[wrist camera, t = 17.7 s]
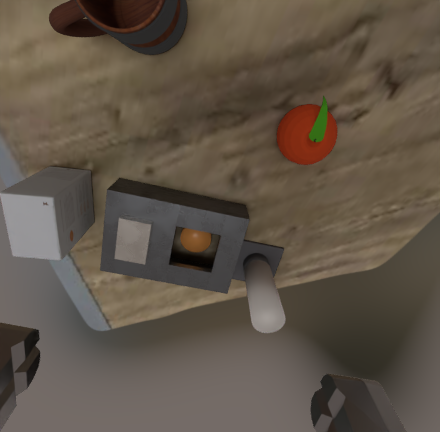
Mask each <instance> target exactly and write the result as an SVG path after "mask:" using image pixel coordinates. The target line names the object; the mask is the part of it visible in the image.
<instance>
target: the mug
mask: <svg viewBox="0 0 440 432" xmlns="http://www.w3.org/2000/svg"><path fill="white" fill-rule="evenodd" d="M85 17H86V18H87V19H83V18H85ZM186 20H187V4H186V0H70V1H68V2H66V3H63V4H61V5H59V6H57V7H56V8H54V9H53V10H52V11H51V13H50V14H49V22H50V24H51V26H52V27H53V29H54V30H55V31H57V32H58V33H60V34H63V35H67V36H73V37H95V36H100V35H104V34H107V33H108V34H109V35H111V36H112V37H114V38H116V39H118V40H119V41H120V42H121V43H123V44H124V45H125V46H127V47H129V48H130V49H132V50H134V51H137V52H139V53H143V54H149V55H154V54H160V53H163V52H165V51H167V50H169V49H170V48H172V47H173V46H174V45H175V44H176V43H177V42H178V40H179V39H180V37H181V35H182V34H183V31H184V29H185V25H186Z"/></svg>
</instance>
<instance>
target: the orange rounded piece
mask: <svg viewBox="0 0 440 432" xmlns="http://www.w3.org/2000/svg"><path fill="white" fill-rule="evenodd" d="M181 243H182V245H183V246H184V248H186V249H187V250H189V251H191V252H201V251H204V250H205V249H207V248H208V247H209V245H210V243H211V233H207V232H202V231H197V230H193V229H188V228H183V229H182V233H181Z"/></svg>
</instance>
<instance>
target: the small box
mask: <svg viewBox="0 0 440 432" xmlns="http://www.w3.org/2000/svg"><path fill="white" fill-rule="evenodd" d="M0 199H1V204H2V208H3V213H4V218H5V222H6V227H7V231H8V236H9V241H10V246H11V251H12V256H18V257H29V258H40V259H51V260H62V259H63V258H64V257H65V256H66V254H67V253H68V252H69V251H70V250H71V249H72V248H73V246H74V245H75V244H76V243H77V242H78V241H79V239H80V238H81V237H82V236H83V235H84V234H85V232H86V231H87V230H88V229H89V228H90V227H91V225H92V224H93V223H94V222H95V221H94V208H93V195H92V182H91V171H90V170H80V169H71V168H61V167H51V166H50V167H48V168H46V169H44V170H42V171H40V172H38V173H36V174H34V175H32V176H30V177H28V178H26V179H25V180H23V181H21V182H19V183H17V184H15V185H13V186H11V187H9V188H7V189H5V190H4V191H2V192H0Z"/></svg>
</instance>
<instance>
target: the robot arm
mask: <svg viewBox="0 0 440 432" xmlns="http://www.w3.org/2000/svg"><path fill="white" fill-rule="evenodd" d="M39 339H40V338H39V330H37V329H33V328H27V327H21V326H16V325H10V324H5V323H0V431H1V429H2V428H3V426H4V424H5V423H6V421H7V420H8V418H9V417H10V415H11V413H12V412H13V410H14V409H15V407H16V396H17V395H18V394H20V393H21V392H23V391H24V390H26V389H27V388H28V387H29V385H30V383H31V382H32V380H33V378H34V376H35V374H36V371H37V369H38V366H39V362H40V350H39V349H38V348H37V347H36V346H35V345H36V344H37V342H38V341H39ZM320 382H321V385H322V388H321V389H319V390H317V391H316V392H315V393H314V395H313V397H312V400H311V418H312V422H313V426H314V429H315V430H316V431H317V432H406V430H405V428H404V426H403V424H402V423H401V421H400V419H399V417H398V415H397V413H396V412H395V410H394V408H393V406H392V405H391V402H390V401H389V399H388V397H387V395H386V393H385V391H384V390H383V388H382V386H381V385H380V384H379V383H378V382H377V381H373V380H366V379H359V378H354V377H347V376H341V375H334V374H326V375H324V376H323V378H322V380H321V381H320Z"/></svg>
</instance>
